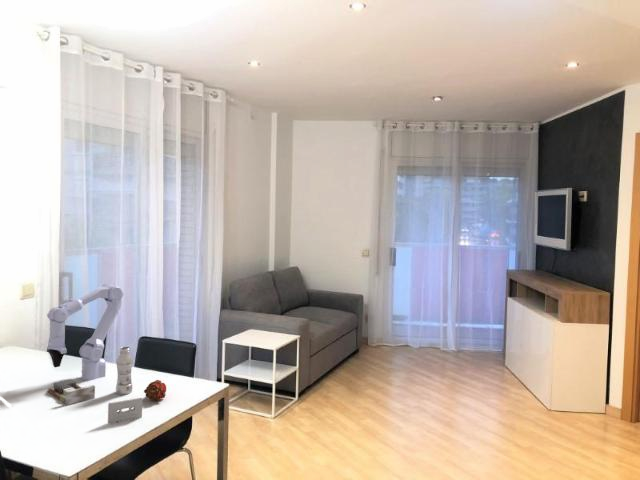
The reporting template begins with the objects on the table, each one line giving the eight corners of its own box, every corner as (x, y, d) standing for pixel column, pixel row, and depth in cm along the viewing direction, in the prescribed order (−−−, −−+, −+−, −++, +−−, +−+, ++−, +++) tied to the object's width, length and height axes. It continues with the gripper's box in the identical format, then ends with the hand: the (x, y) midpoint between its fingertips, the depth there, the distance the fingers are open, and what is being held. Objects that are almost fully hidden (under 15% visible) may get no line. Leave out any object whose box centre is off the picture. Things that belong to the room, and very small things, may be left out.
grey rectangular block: (70, 387, 209) (71, 379, 209) (75, 390, 206) (76, 382, 206) (53, 391, 204) (53, 383, 204) (58, 394, 201) (58, 386, 201)
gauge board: (73, 387, 212) (73, 373, 212) (94, 400, 199) (94, 385, 199) (46, 393, 204) (46, 379, 204) (66, 407, 191) (66, 392, 191)
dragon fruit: (155, 409, 197) (152, 402, 208) (173, 394, 200) (169, 388, 211) (142, 393, 196) (140, 387, 206) (160, 378, 199) (157, 373, 210)
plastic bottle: (135, 393, 208) (136, 347, 207) (123, 398, 202) (124, 351, 201) (124, 390, 211) (125, 345, 210) (112, 395, 205) (112, 348, 204)
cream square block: (72, 391, 204) (72, 386, 204) (76, 394, 202) (76, 389, 202) (63, 394, 202) (63, 389, 202) (67, 396, 199) (67, 391, 199)
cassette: (141, 416, 186) (141, 396, 186) (142, 418, 185) (142, 398, 184) (107, 423, 179) (107, 402, 179) (108, 424, 178) (108, 404, 177)
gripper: (40, 333, 211) (40, 364, 212) (54, 340, 202) (53, 372, 202) (57, 331, 216) (57, 361, 217) (71, 337, 207) (71, 369, 208)
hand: (56, 366), depth 210 cm, fingers closed
